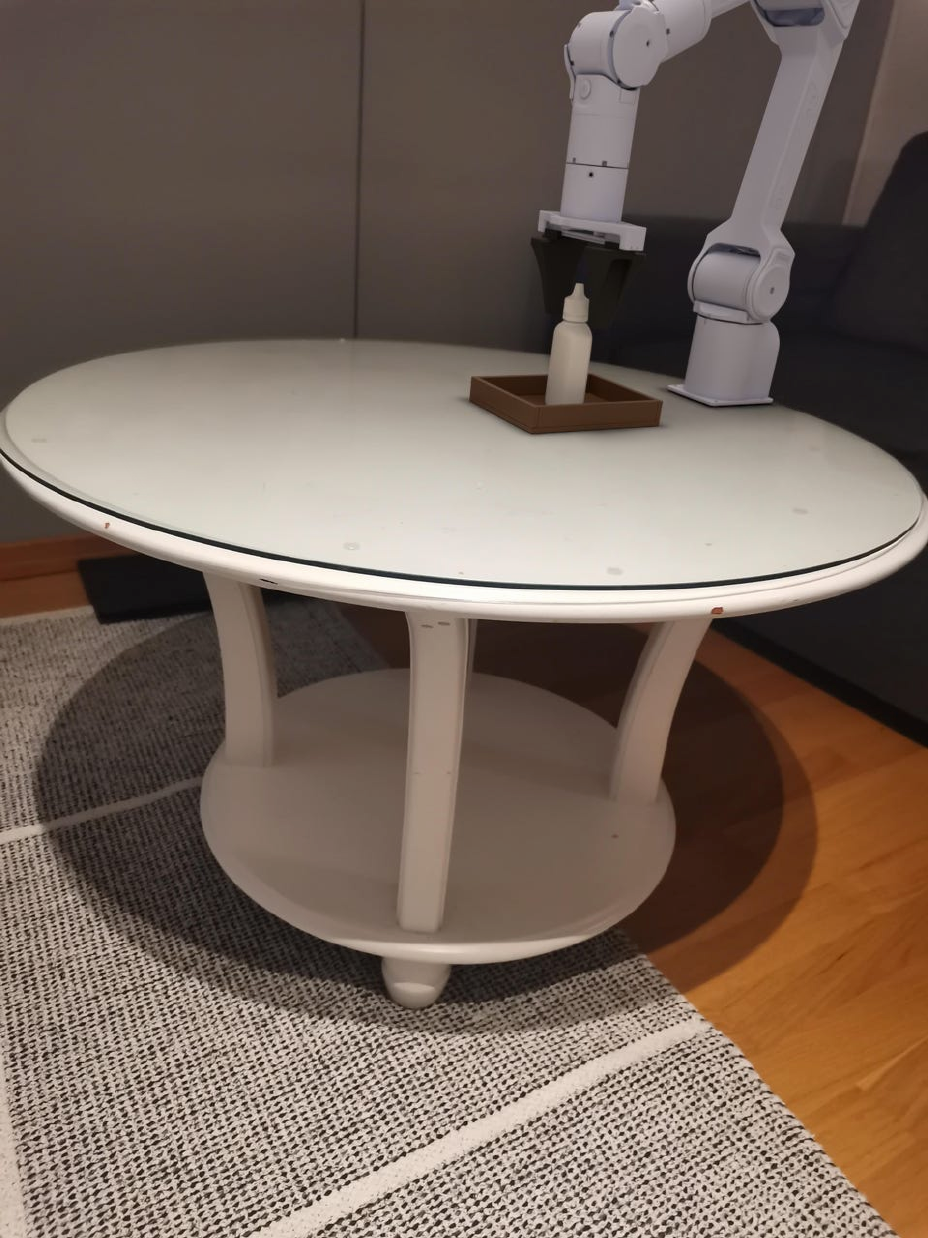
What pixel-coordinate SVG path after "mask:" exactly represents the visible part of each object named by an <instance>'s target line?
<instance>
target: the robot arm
mask: <svg viewBox="0 0 928 1238" xmlns="http://www.w3.org/2000/svg"><path fill="white" fill-rule="evenodd" d="M860 1H861V0H618V5H617V6H616V7H615V8H614V9H613V10H609V11H593V12H590V13H588V14H586V15H584V17H582V19H580V21H579V22H578V23H577V24H578V25H577V26H576V27H575V28H574V30H573V32H572V33H571V36H570V39H569V43H567V44H564V46H563V47H564V48H563V49H564V50H563V56H564V57H563V58H564V65H565V69H566V72H567V74H568V77H569V81H570V89H569V97H568V98H569V99H570V103H571V106H572V107H571V115H570V116H571V117H570V125H569V133H568V142H567V149H566V157H565V168H564V175H563V184H562V185H563V186H562V193H561V199H560V200H561V201H560V209H559V211H556V210H539V216H538V224H537V232H541V233H542V235H541V236H531V237H530V246H531V248H532V251H533V253H534V255H535V259H536V262H537V265H538V269H539V270H538V271H539V274H540V280H541V287H542V297H543V306H544V312H545V314H547V315H563V311H564V303H565V298H566V297H568V296H571V295H572V290H573V285H574V280H575V276H576V272H577V269H578V267H579V263H580V261H581V258H582V256H583V254H584V255H585V260H586V264H587V270H588V281H589V293H588V294H589V295H588V299H589V306H588V320H587V325H588V327H589V329H592V330H610V329H611V326H612V324H613V322H614V319H615V316H616V314H617V312H618V310H619V307H620V304H621V302H622V300H623V297H624V295H625V293H626V291H627V289H628V287H629V285H630V284H631V282H632V280H633V279H634V277H635V276H636V274H637V273H638V272H639V270H640V269H641V267H642V266H643V265H644V264H645V262H646V258H647V254H646V253H643V252H642V251H644V248H645V247H644V245H645V238H646V233H647V227H644V226H640V225H636V224H632V223H628V222H625V221H622V216H623V209H624V202H625V197H626V196H625V195H626V190H627V189H626V188H627V182H628V175H629V168H630V161H631V156H632V155H631V153H632V148H633V141H634V133H635V126H636V120H637V113H638V106H639V101H640V92H641V86H647V85H648V84H649V83H650V82H651V81H652V80H653V79H654V77H655V75H656V73H657V71H658V68H659V66H660V65H662V64H663V63H664V62H666V61H668V60H669V59H672V58H674V57H676V56H677V55H679V54H680V53H683V52H684V51H685V50H687V49H689V48H691V47H692V46H695V45H696V44H698V43H700V42H701V41H702V40H703V39H704V38H705V37H706V35H707V33H708V32H709V29H710V26H711V22H712V19H714V18H716V17H718V16H720V15H722V14H724V13H727V12H728V11H731V10H733V9H735V8H737V7H740V6H741V5H744V4H745V3H748V2H749V3H750V6H751V8H752V9H753V11H754V13H755V15H756V16H757V18H758V20H759V22H760V23H761V25H762V27H763V29H764V31H765V32H766V34H767V36H768V38H769V40H770V41H771V43H774V45H775V44H776V45H777V46H778V48H779V50H780V53H781V61H780V63H779V64H780V65H779V66H778V67H779V68H778V70H777V73H776V76H775V79H774V83H773V86H772V89H771V92H770V94H769V99H768V100H767V105H766V107H765V111H764V114H763V117H762V120H761V123H760V126H759V129H758V131H757V136H756V138H755V142H754V145H753V148H752V151H751V154H750V156H749V160H748V163H747V166H746V170H745V172H744V175H743V179H742V182H741V185H740V188H739V191H738V194H737V197H736V200H735V204H734V206H733V210H732V211H731V215H730V217H729V218H728V219H727V220H726V221H724V222H723V223H721V224H720V225H718V226H717V227H716V228H714V229H713V230H712V231H710V232H709V233H708V234H707V235H706V238H705V241H704V244H703V246H702V249H701V250H700V252H699V254H698V256H697V257H696V258H695V260H694V261H693V263H692V265H691V267H690V270H689V273H688V277H687V293H688V297H689V299H690V301H691V302H692V303H693V308H692V312H694V313H697V314H696V315H697V316H696V320H695V326H694V332H693V336H692V342H691V348H690V353H689V357H688V362H687V368H686V373H685V378H684V382H683V384H667V387H666V389H667V390H669V391H670V392H674V393H676V394H679V395H682V396H684V397H686V398H690V399H691V400H695V401H697V402H700V403H702V404H705V405H708V406H710V407H711V406H712V407H720V406H721V407H722V406H739V405H740V406H741V405H757V404H759V405H760V404H761V405H762V404H773V402H774V399H773V398H771V397H769V395H770V389H771V386H772V381H773V378H774V373H775V369H776V365H777V362H778V361H777V360H778V356H779V352H780V346H781V345H780V344H781V343H780V335H779V331H778V328H777V327H776V325H775V324H774V323H773V322H772V321H771V319H772V318H773V317H774V316H775V315H776V314H777V313H778V312H779V311H780V309H781V308H782V307H783V305H784V303H785V302H786V300H787V299H786V298H787V297H788V294H789V290H790V278H791V277H790V276H791V269H792V266H793V262H794V259H795V256H796V253H795V251H794V249H793V247H792V246H791V244H790V243H789V241H788V240H787V238H786V237H785V235H784V234H783V232H782V230H781V229H782V225H783V223H784V220H785V217H786V214H787V211H788V208H789V205H790V202H791V199H792V196H793V194H794V191H795V187H796V184H797V181H798V179H799V175H800V173H801V170H802V167H803V165H804V161H805V158H806V155H807V153H808V149H809V146H810V143H811V140H812V137H813V134H814V132H815V130H816V126H817V123H818V120H819V117H820V114H821V111H822V108H823V106H824V102H825V100H826V97H827V94H828V91H829V89H830V88H829V87H830V85H831V81H832V79H833V76H834V74H835V70H836V67H837V64H838V61H839V58H840V55H841V52H842V48H843V44H844V41H845V40H846V39H847V38H848V37H849V33H850V30H851V27H852V24H853V23H854V22H853V21H854V18H855V16H856V13H857V9H858V6H859V4H860ZM579 231H590V232H593V234H589V233H585V232H584V233H583V232H579ZM589 242H592V243H596V244H601V245H603V246H588V244H589ZM742 253H743V254H742ZM744 253H747V254H744ZM748 253H749V254H753V255H749V254H748ZM754 254H755V255H760V256H754Z"/></svg>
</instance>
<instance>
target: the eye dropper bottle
mask: <svg viewBox="0 0 928 1238" xmlns="http://www.w3.org/2000/svg"><path fill="white" fill-rule="evenodd" d="M584 287H585V286H584V283H579V282H577V283H575V285H574V289H573V292H572V293H571V295H570V296H568V297H566V298H565V303H564V311H563V314H562V321H561V322H559V323H558V324H557V325H556V326H555V328H554V330H553V336H552V343H551V351H550V357H549V366H548V373H547V374H548V381H547V389H546V397H545V403H546V405H559V404H580V403H583V402H584V395H585V388H586V381H587V374H588V373H589V366H590V361H591V360H590V359H591V353H592V345H593V344H592V343H593V334H592V331H591V328H589V325H588V323H586V322H588V306H589V298H587V297H586V295H585V291H584V290H585V289H584Z"/></svg>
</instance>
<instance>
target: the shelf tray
mask: <svg viewBox="0 0 928 1238" xmlns="http://www.w3.org/2000/svg"><path fill="white" fill-rule="evenodd" d="M547 381H548V373H542V374H539V373H538V374H507V375H506V374H505V375H503V374H502V375H477V376H476V375H473V376H471V377H470V385H469V398H468V400H469V402H470V403H473V404H475V405H477V406H478V407H480V408H481V409H484V410H486V411H488V412H490V413H491V414H494V415H495V416H497V417H499V418H500V419H503V420H505V421H507V422H508V423H510V424H511V425H514V426H516V427H518V428H520V429H521V430H523V431H525V432H527V433H529V434H532V435H533V434H535V435H536V434H548V433H564V432H580V431H581V432H582V431H597V430H613V429H628V428H629V429H630V428H643V427H644V428H645V427H658V426H660V423H661V422H660V420H661V416H662V410H663V405H664V401H663V400H661V399H659V398H656V397H654V396H652V395H649V394H647V393H644V392H641V391H639V390H636V389H634V388H631V387H630V386H629V387H628V386H626V385H624V384H621V383H619V382H616V381H614V380H612V379H610V378H606V377H604V376H602V375H599V374H596V373H594V372H588V374H587V381H586V388H585V395H584V402H583V403H580V404H559V405H546V403H545V397H546V389H547Z"/></svg>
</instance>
